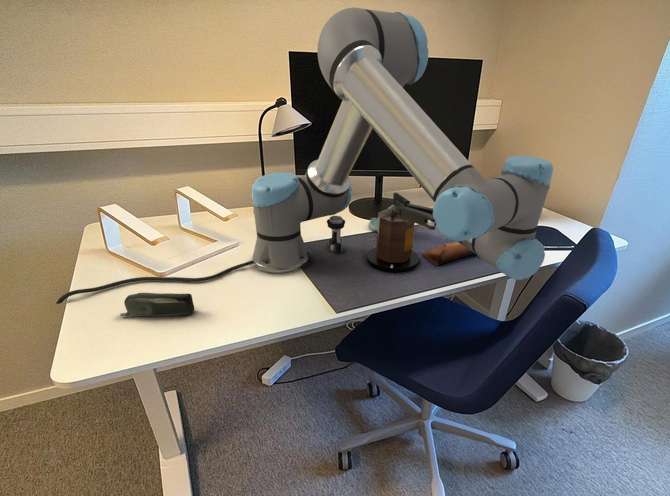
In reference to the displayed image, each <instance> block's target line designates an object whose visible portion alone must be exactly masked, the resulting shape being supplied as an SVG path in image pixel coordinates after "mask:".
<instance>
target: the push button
mask: <svg viewBox="0 0 670 496" xmlns="http://www.w3.org/2000/svg"><path fill="white" fill-rule="evenodd" d="M326 224H327V227H328V228H329V229H331V238H330V239H328V240H327V241H328V245H329V248H330V250H331V251H334V252H335V254H339V253H343V252H344V245H343V241H342V237H341V230H342V229H344V228H345V224H346V220H345V219H343V217H342V216H341V215H330V217H329V218H328V219H327V220H326Z"/></svg>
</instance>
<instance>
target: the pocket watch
mask: <svg viewBox="0 0 670 496" xmlns="http://www.w3.org/2000/svg"><path fill="white" fill-rule="evenodd" d="M387 209H395V206H394V205H393V204H392V205H390V206H389V207H387ZM369 220H370V221H369V222H368V228H369V229H370V230H371V231H373V232H376V233H377V229H378V217H371V218H370V219H369Z"/></svg>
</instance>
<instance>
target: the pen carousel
mask: <svg viewBox="0 0 670 496" xmlns="http://www.w3.org/2000/svg"><path fill="white" fill-rule="evenodd" d="M377 218H378V229H377V232H376V246H375V247H376V253H377V258H378V259H381V260H383V261H386V262H388V263H403V262H405V261H407V260H409V259H410V258H411V252H412V250H413V246H414V245H413V243H414V234H415V224H416V223H413V222H410V221H407V220H404V219H401V218H398V217H397V208H396V206H395V209H388V208H387V209H383V210H381V211H379V212H378V214H377Z"/></svg>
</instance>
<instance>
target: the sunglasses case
mask: <svg viewBox="0 0 670 496" xmlns="http://www.w3.org/2000/svg"><path fill="white" fill-rule="evenodd" d="M422 254H423V257H425V259H427V260H428V261H429V262H431V263H432V264H433V265H436V266H440V265H443V264H446V263H448V262H451V261H453V260H456V259H459V258H464V257H467V256H469V255H470V256H471V255H474V254H475V253H474V252H472V251H471V250H469V249H468V248H466V247H465V246H464V245H462V244H460V243H459V242H457V241H451V242H447V243H444V245H441V246H437V247H434V248H432V249H429V250H427V251H425V252H424V253H422Z"/></svg>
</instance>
